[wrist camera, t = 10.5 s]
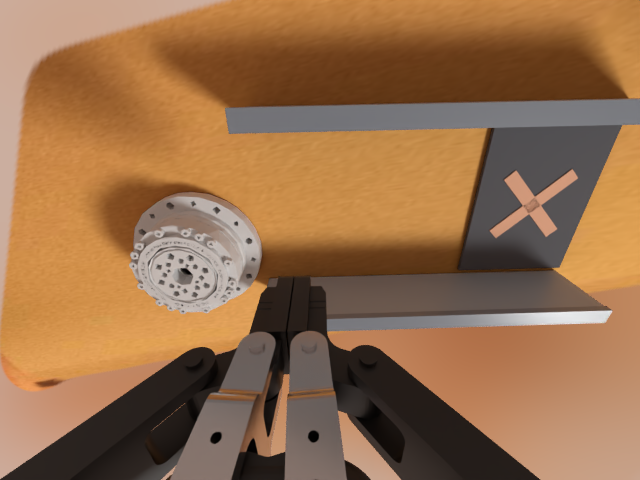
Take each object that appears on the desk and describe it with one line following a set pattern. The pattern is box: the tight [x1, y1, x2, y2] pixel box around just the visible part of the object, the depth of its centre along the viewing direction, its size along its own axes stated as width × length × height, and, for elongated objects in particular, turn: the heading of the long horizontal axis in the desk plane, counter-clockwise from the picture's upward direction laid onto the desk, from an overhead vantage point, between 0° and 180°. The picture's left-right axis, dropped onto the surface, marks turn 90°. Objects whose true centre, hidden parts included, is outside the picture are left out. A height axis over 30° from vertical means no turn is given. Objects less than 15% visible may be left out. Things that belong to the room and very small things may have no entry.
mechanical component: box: [129, 192, 262, 314], centre depth 22 cm, size 10×4×10 cm
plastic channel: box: [225, 98, 640, 331], centre depth 20 cm, size 26×15×6 cm, turn 91°
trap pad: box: [458, 125, 622, 270], centre depth 22 cm, size 9×12×1 cm
